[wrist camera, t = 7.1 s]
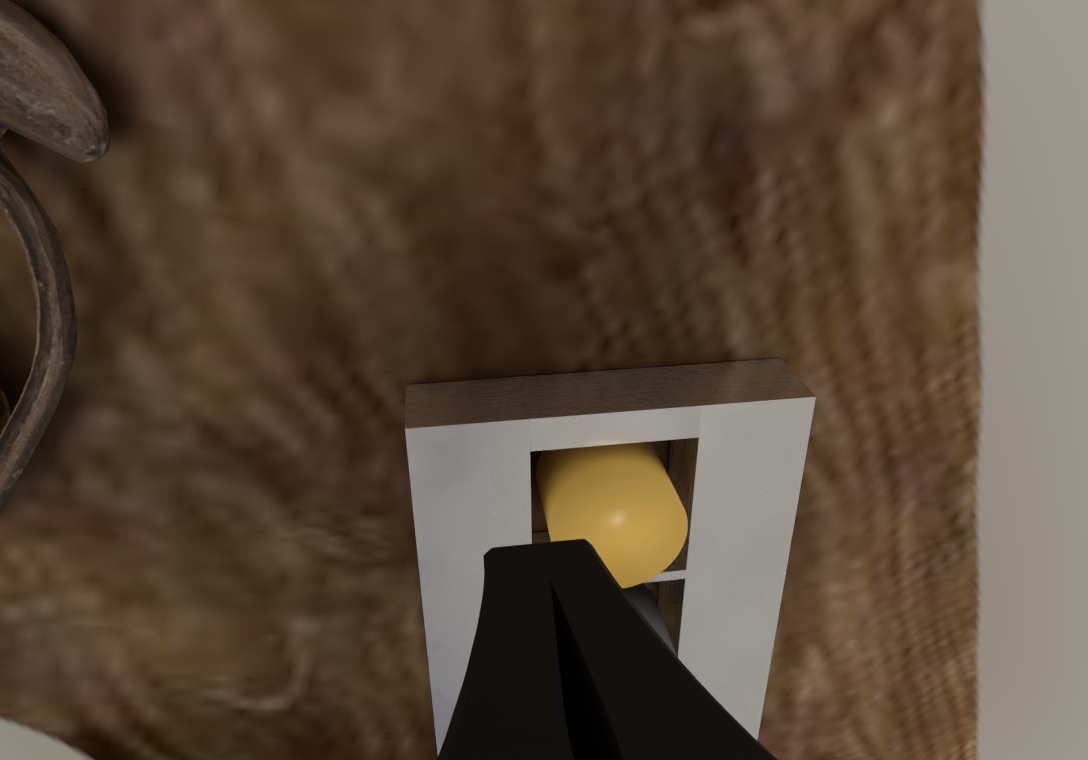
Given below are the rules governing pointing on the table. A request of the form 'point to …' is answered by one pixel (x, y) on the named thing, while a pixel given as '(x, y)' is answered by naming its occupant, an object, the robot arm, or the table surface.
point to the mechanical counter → (41, 213)
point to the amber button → (614, 506)
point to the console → (694, 469)
